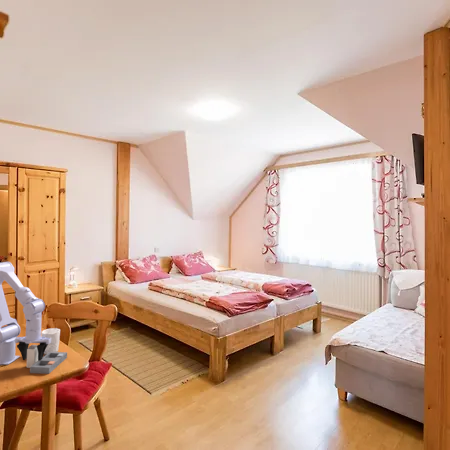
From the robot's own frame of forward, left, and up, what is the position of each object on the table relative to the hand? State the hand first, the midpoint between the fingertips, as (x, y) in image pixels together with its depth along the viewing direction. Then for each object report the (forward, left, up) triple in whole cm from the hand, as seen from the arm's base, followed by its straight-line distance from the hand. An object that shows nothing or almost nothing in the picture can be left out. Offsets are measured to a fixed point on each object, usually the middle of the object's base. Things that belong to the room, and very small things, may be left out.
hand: (32, 359), depth 136 cm
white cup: (0, +15, -3) cm, 15 cm away
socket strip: (+7, +2, -3) cm, 7 cm away
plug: (0, 0, -3) cm, 3 cm away
